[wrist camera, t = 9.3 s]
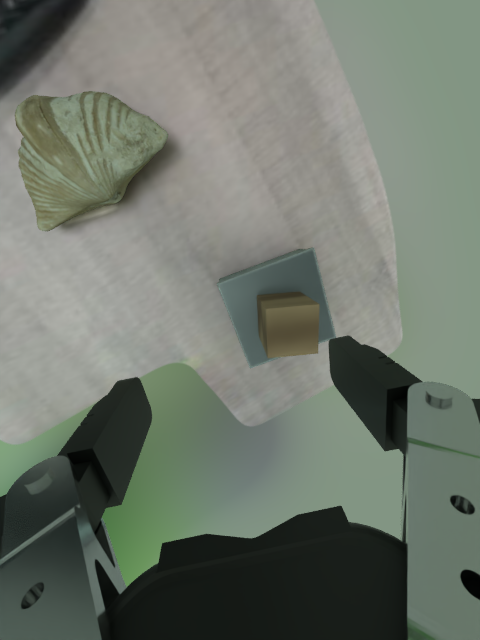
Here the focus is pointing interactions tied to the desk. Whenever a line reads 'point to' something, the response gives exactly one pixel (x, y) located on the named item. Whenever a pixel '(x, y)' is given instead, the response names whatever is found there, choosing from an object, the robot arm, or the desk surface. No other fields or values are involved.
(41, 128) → the seashell
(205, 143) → the desk surface
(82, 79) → the desk surface
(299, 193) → the desk surface
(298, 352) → the brass block
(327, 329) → the grey-green square slab
